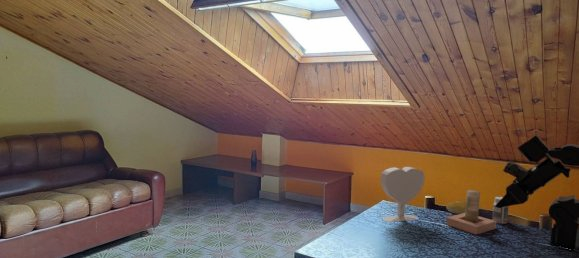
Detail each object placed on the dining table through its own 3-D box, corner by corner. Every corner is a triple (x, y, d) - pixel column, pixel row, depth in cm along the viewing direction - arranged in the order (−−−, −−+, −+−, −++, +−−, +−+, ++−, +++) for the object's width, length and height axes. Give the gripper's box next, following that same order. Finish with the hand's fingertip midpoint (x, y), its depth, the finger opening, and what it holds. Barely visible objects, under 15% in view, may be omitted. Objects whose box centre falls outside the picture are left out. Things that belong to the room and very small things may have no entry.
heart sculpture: (415, 214, 152) (417, 165, 150) (423, 218, 147) (426, 168, 145) (377, 217, 147) (379, 167, 145) (385, 222, 142) (387, 170, 140)
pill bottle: (503, 219, 148) (505, 196, 147) (509, 224, 144) (511, 200, 143) (490, 219, 149) (491, 196, 148) (495, 223, 144) (497, 199, 143)
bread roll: (441, 210, 159) (442, 199, 159) (459, 207, 163) (459, 197, 162) (458, 216, 152) (459, 205, 151) (476, 213, 155) (477, 203, 155)
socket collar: (495, 228, 138) (496, 221, 138) (476, 234, 132) (477, 226, 132) (465, 219, 148) (466, 212, 147) (446, 224, 141) (446, 217, 141)
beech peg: (480, 228, 139) (482, 192, 137) (469, 229, 138) (472, 193, 136) (471, 224, 142) (474, 189, 141) (461, 225, 141) (464, 190, 140)
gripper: (526, 150, 137) (487, 178, 145) (517, 157, 122) (474, 188, 130) (552, 177, 133) (511, 205, 141) (546, 188, 118) (501, 218, 126)
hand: (499, 203), depth 134 cm, fingers open, 9 cm apart
